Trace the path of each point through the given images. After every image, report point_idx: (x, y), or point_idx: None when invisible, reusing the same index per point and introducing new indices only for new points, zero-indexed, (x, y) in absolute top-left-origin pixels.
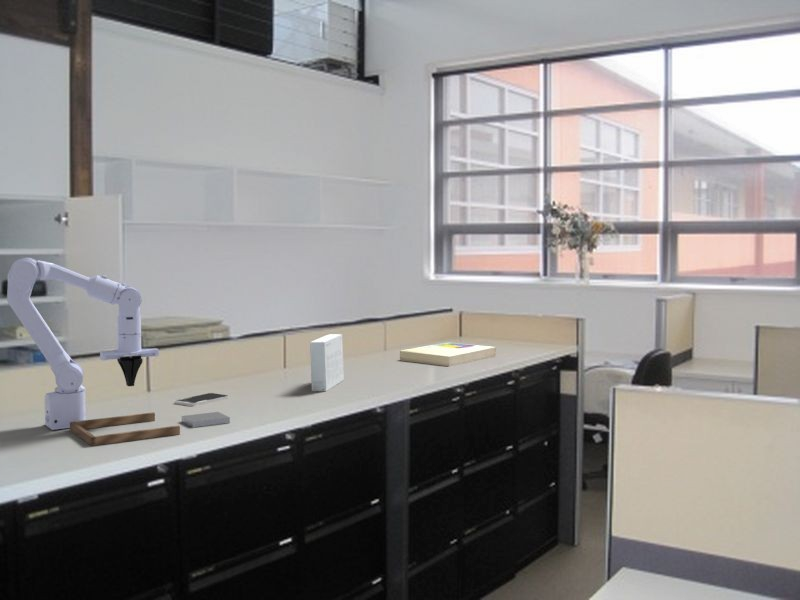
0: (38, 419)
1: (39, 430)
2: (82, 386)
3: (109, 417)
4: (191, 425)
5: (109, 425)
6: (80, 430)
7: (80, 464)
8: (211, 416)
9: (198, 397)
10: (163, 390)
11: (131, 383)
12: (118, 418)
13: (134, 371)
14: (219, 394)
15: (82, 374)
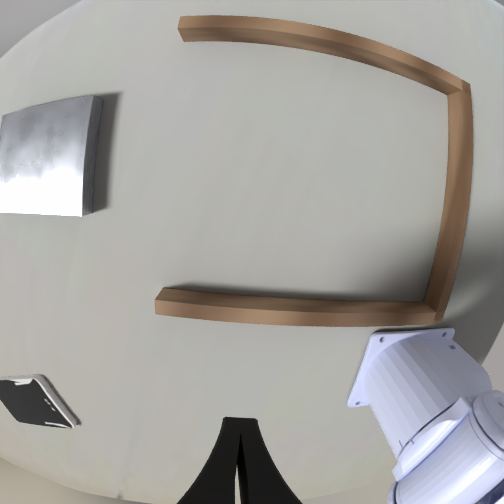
0: None
1: (460, 343)
2: (410, 455)
3: (332, 326)
4: (98, 110)
5: (332, 301)
6: (468, 198)
7: (474, 5)
8: (22, 151)
9: (31, 412)
10: (96, 487)
11: (242, 427)
12: (305, 310)
13: (221, 487)
14: (2, 400)
15: (426, 489)
